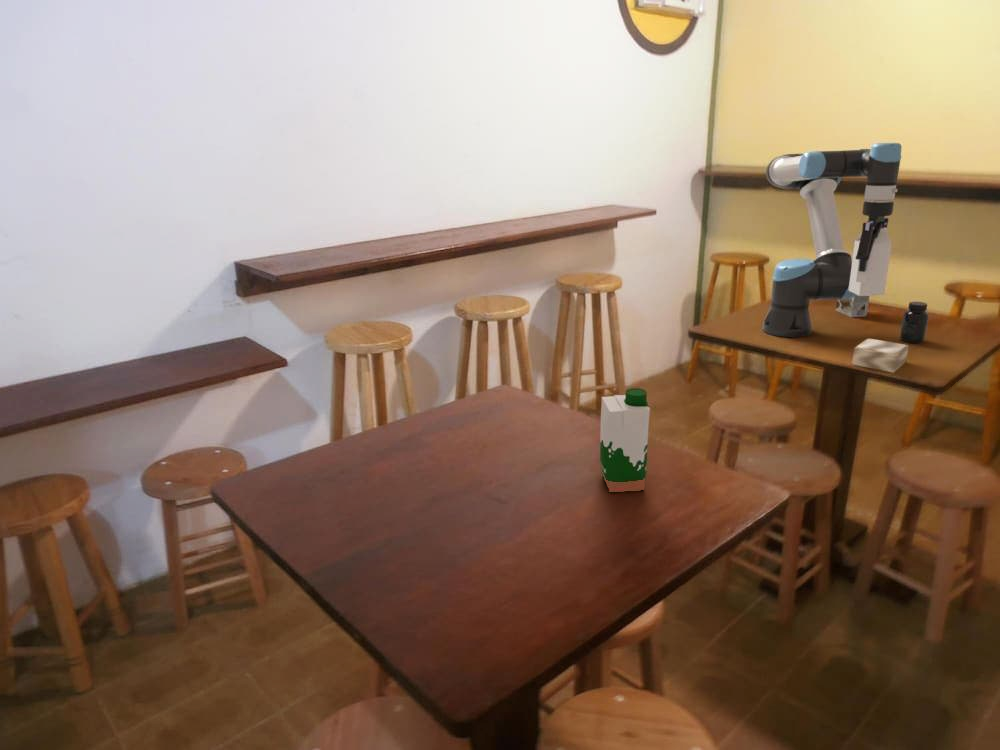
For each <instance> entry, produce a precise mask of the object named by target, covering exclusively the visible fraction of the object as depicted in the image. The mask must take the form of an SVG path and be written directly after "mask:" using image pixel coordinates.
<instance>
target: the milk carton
mask: <svg viewBox="0 0 1000 750" xmlns="http://www.w3.org/2000/svg"><path fill="white" fill-rule="evenodd" d="M862 229H863V227H862V228H861V230H862ZM888 230H889V227H887V228H881V229H880V232H879V234H878V237H877V238H875V241H874V244H873V247H872V250H871V254H870V257H869V260H870V264H869V271H868V278H867V283H860V282H856V278H857V271H858V263H859V260H858V259H856V256H857V252H858V248H859V243H860V239H861V235H862V231H861V232H860V234H858V236H857V238H855V240H854V245H853V254H852V267H851V275H850V282H849V291H850V292H852V293H854V294H856V295H858V296H870V297H871V296H872V297H873V296H884V295H885V292H886V284H887V279H888V278H887V277H888V270H889V264H890V259H891V251H892V244H893V243H892V240H891V237H890V235H889V232H888Z"/></svg>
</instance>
